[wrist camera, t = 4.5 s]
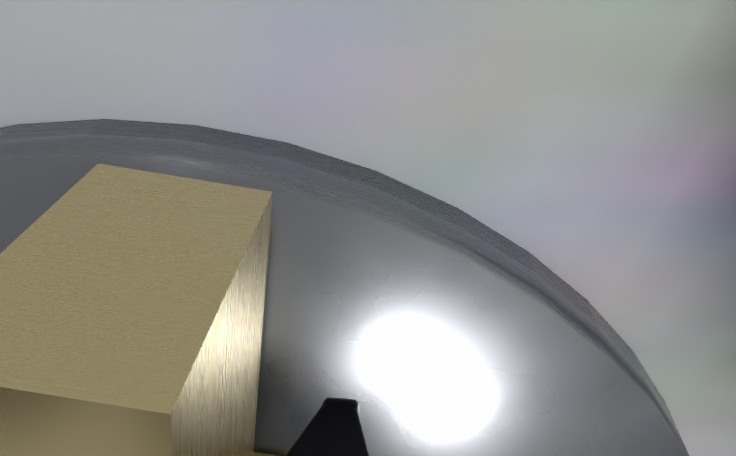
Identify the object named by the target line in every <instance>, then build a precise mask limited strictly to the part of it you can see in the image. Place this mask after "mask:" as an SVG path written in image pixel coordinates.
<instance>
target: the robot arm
mask: <svg viewBox="0 0 736 456" xmlns="http://www.w3.org/2000/svg"><path fill="white" fill-rule="evenodd" d="M285 456H369V453H368V449H367V445H366V441H365V437H364V434H363V430H362V426H361V422H360V409H359V403H358V401H356V400H355V399H346V398H333V397H328V398H326V399H325V400H324V401H323V403H322V406H321V408H320V409H319V410H318V412H317V413H316V414H315V416H314V417H313V418H312V420H311V421H310V422H309V424H308V425H307V426H306V428H305V429H304V430H303V432H302V433H301V434H300V436H299V437H298V438H297V440H296V441H295V442H294V444H293V445H292V446H291V448H290V449H289V450H288V452H287V453H286V454H285Z"/></svg>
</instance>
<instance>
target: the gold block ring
mask: <svg viewBox="0 0 736 456" xmlns="http://www.w3.org/2000/svg"><path fill="white" fill-rule="evenodd" d="M272 193H273V192H271V191H264V190H258V189H252V188H246V187H240V186H234V185H228V184H222V183H215V182H209V181H203V180H197V179H191V178H185V177H179V176H173V175H167V174H160V173H154V172H148V171H142V170H136V169H130V168H124V167H118V166H111V165H105V164H99V163H98V164H97V165H96V166H95V167H94V168H93V169H91V170H90V171H89V172H88V173H87V174H86V175H85V176H84V177H83V178H82V179H81V180H80V181H78V182H77V183H76V184H75V185H74V186H73V187H72V188H71V189H70V190H69V191H68V192H67V193H65V194H64V195H63V196H62V197H61V198H60V199H59V200H58V201H57V202H56V203H55V204H54V205H52V206H51V207H50V208H49V209H48V210H47V211H46V212H45V213H44V214H43V215H42V216H40V217H39V218H38V219H37V220H36V221H35V222H34V223H33V224H32V225H31V226H30V227H29V228H27V229H26V230H25V231H24V232H23V233H22V234H21V235H20V236H19V237H18V238H17V239H16V240H14V241H13V242H12V243H11V244H10V245H9V246H8V247H7V248H6V249H5V250H4V251H3V252H1V253H0V456H275V455H269V454H263V453H257V452H253V449H254V435H255V422H256V408H257V395H258V381H259V368H260V354H261V341H262V327H263V314H264V300H265V287H266V274H267V260H268V247H269V233H270V220H271V206H272Z"/></svg>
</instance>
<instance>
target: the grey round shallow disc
mask: <svg viewBox="0 0 736 456" xmlns="http://www.w3.org/2000/svg"><path fill="white" fill-rule="evenodd" d="M98 163H99V164H105V165H111V166H118V167H124V168H130V169H136V170H142V171H148V172H154V173H160V174H167V175H173V176H179V177H185V178H191V179H197V180H203V181H209V182H215V183H222V184H228V185H234V186H240V187H246V188H252V189H258V190H264V191H271V192H273V193H272V206H271V220H270V233H269V247H268V260H267V274H266V287H265V300H264V314H263V327H262V341H261V354H260V368H259V381H258V395H257V408H256V422H255V435H254V449H253V452H257V453H263V454H269V455H275V456H285V454H286V453H287V452H288V450H289V449H290V448H291V446H292V445H293V444H294V442H295V441H296V440H297V438H298V437H299V436H300V434H301V433H302V432H303V430H304V429H305V428H306V426H307V425H308V424H309V422H310V421H311V420H312V418H313V417H314V416H315V414H316V413H317V412H318V410H319V409H320V408H321V406H322V403H323V401H324V400H325V399H326V398H328V397H333V398H346V399H355V400H356V401H358V403H359V409H360V422H361V426H362V430H363V434H364V437H365V441H366V445H367V449H368V453H369V456H689V454H688V452H687V450H686V448H685V446H684V443H683V441H682V439H681V437H680V434H679V432H678V430H677V428H676V426H675V423H674V421H673V419H672V417H671V414H670V412H669V410H668V408H667V406H666V403H665V401H664V399H663V398H662V396H661V395H660V393H659V392H658V390H657V388H656V387H655V385H654V384H653V382H652V381H651V379H650V377H649V376H648V374H647V373H646V371H645V370H644V368H643V366H642V365H641V363H640V362H639V360H638V359H637V357H636V355H635V354H634V352H633V351H632V349H631V348H630V347H629V346H628V345H627V344H626V343H625V342H624V341H623V339H622V338H621V337H620V336H619V335H618V334H617V333H616V332H615V331H614V329H613V328H612V327H611V326H610V325H609V324H608V323H607V322H606V321H605V319H604V318H603V317H602V316H601V315H600V314H599V313H598V312H597V311H596V309H595V308H594V307H593V306H592V305H591V304H590V303H589V302H588V301H587V300H586V299H585V298H584V297H583V296H581V295H580V294H579V293H578V292H577V291H575V290H574V289H573V288H572V287H571V286H569V285H568V284H567V283H566V282H564V281H563V280H562V279H561V278H560V277H558V276H557V275H556V274H555V273H554V272H552V271H551V270H550V269H549V268H547V267H546V266H545V265H544V264H543V263H541V262H540V261H539V260H538V259H537V258H535V257H534V256H533V255H532V254H530V253H529V252H528V251H526V250H525V249H523V248H521V247H520V246H518V245H517V244H515V243H513V242H512V241H510V240H508V239H507V238H505V237H504V236H502V235H500V234H499V233H497V232H495V231H494V230H492V229H491V228H489V227H487V226H486V225H484V224H483V223H481V222H479V221H478V220H476V219H474V218H473V217H471V216H470V215H468V214H466V213H465V212H463V211H461V210H460V209H458V208H456V207H454V206H452V205H450V204H447V203H445V202H443V201H441V200H439V199H436V198H434V197H432V196H430V195H428V194H426V193H423V192H421V191H419V190H417V189H415V188H412V187H410V186H408V185H406V184H404V183H401V182H399V181H397V180H395V179H393V178H390V177H388V176H386V175H384V174H382V173H379V172H377V171H374V170H371V169H368V168H365V167H362V166H359V165H355V164H352V163H349V162H346V161H343V160H340V159H337V158H333V157H330V156H327V155H324V154H321V153H318V152H315V151H311V150H308V149H305V148H302V147H299V146H296V145H293V144H289V143H285V142H280V141H275V140H269V139H264V138H259V137H254V136H248V135H243V134H238V133H233V132H227V131H222V130H217V129H212V128H207V127H201V126H196V125H181V124H167V123H152V122H137V121H122V120H107V119H102V120H86V121H70V122H54V123H38V124H22V125H14V126H9V127H5V128H0V253H1V252H3V251H4V250H5V249H6V248H7V247H8V246H9V245H10V244H11V243H12V242H13V241H14V240H16V239H17V238H18V237H19V236H20V235H21V234H22V233H23V232H24V231H25V230H26V229H27V228H29V227H30V226H31V225H32V224H33V223H34V222H35V221H36V220H37V219H38V218H39V217H40V216H42V215H43V214H44V213H45V212H46V211H47V210H48V209H49V208H50V207H51V206H52V205H54V204H55V203H56V202H57V201H58V200H59V199H60V198H61V197H62V196H63V195H64V194H65V193H67V192H68V191H69V190H70V189H71V188H72V187H73V186H74V185H75V184H76V183H77V182H78V181H80V180H81V179H82V178H83V177H84V176H85V175H86V174H87V173H88V172H89V171H90V170H91V169H93V168H94V167H95V166H96V165H97V164H98Z"/></svg>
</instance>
